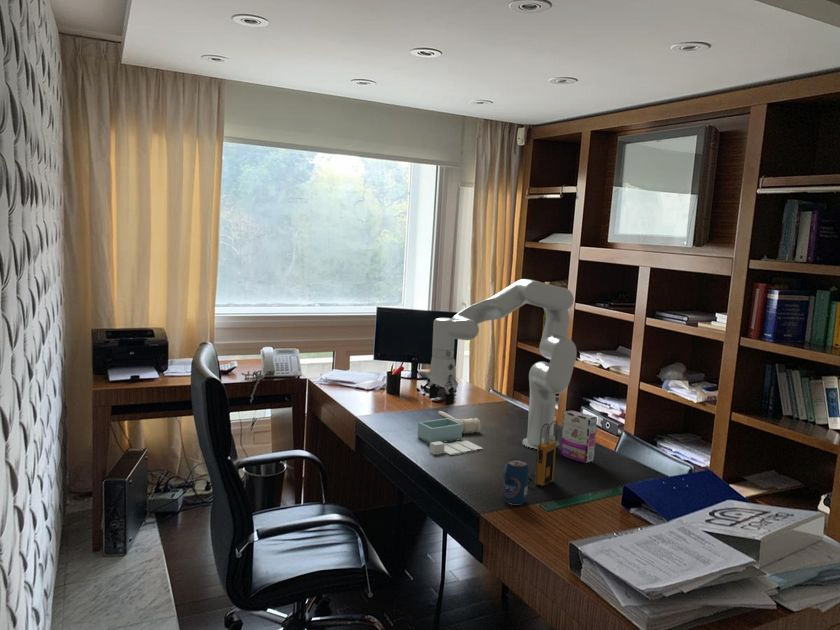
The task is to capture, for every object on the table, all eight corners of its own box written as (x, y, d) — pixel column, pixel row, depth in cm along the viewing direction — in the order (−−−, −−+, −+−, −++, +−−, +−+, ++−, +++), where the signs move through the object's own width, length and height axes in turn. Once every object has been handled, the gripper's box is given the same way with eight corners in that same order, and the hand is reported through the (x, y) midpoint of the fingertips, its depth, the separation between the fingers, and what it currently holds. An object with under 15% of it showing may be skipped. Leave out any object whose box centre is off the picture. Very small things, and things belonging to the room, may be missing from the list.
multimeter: (531, 470, 210) (535, 412, 208) (558, 478, 204) (563, 418, 201) (508, 482, 199) (512, 420, 196) (536, 491, 192) (541, 427, 190)
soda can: (498, 502, 183) (500, 462, 181) (508, 495, 188) (511, 456, 187) (520, 509, 179) (523, 468, 177) (530, 501, 185) (533, 461, 183)
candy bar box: (594, 462, 220) (598, 416, 218) (586, 465, 217) (589, 419, 215) (568, 453, 229) (571, 409, 227) (559, 455, 226) (563, 411, 224)
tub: (461, 439, 239) (462, 424, 238) (430, 444, 231) (431, 428, 230) (447, 432, 246) (448, 417, 245) (417, 437, 238) (418, 422, 238)
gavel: (427, 419, 273) (458, 436, 243) (428, 405, 272) (458, 420, 243) (449, 418, 276) (482, 434, 247) (449, 404, 276) (482, 419, 246)
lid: (482, 450, 228) (483, 441, 228) (439, 457, 218) (440, 448, 217) (466, 442, 236) (467, 433, 236) (424, 449, 226) (424, 439, 225)
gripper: (466, 357, 214) (464, 406, 217) (437, 348, 229) (435, 394, 231) (448, 358, 210) (446, 408, 212) (420, 349, 225) (418, 396, 227)
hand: (440, 401), depth 222 cm, fingers open, 9 cm apart
